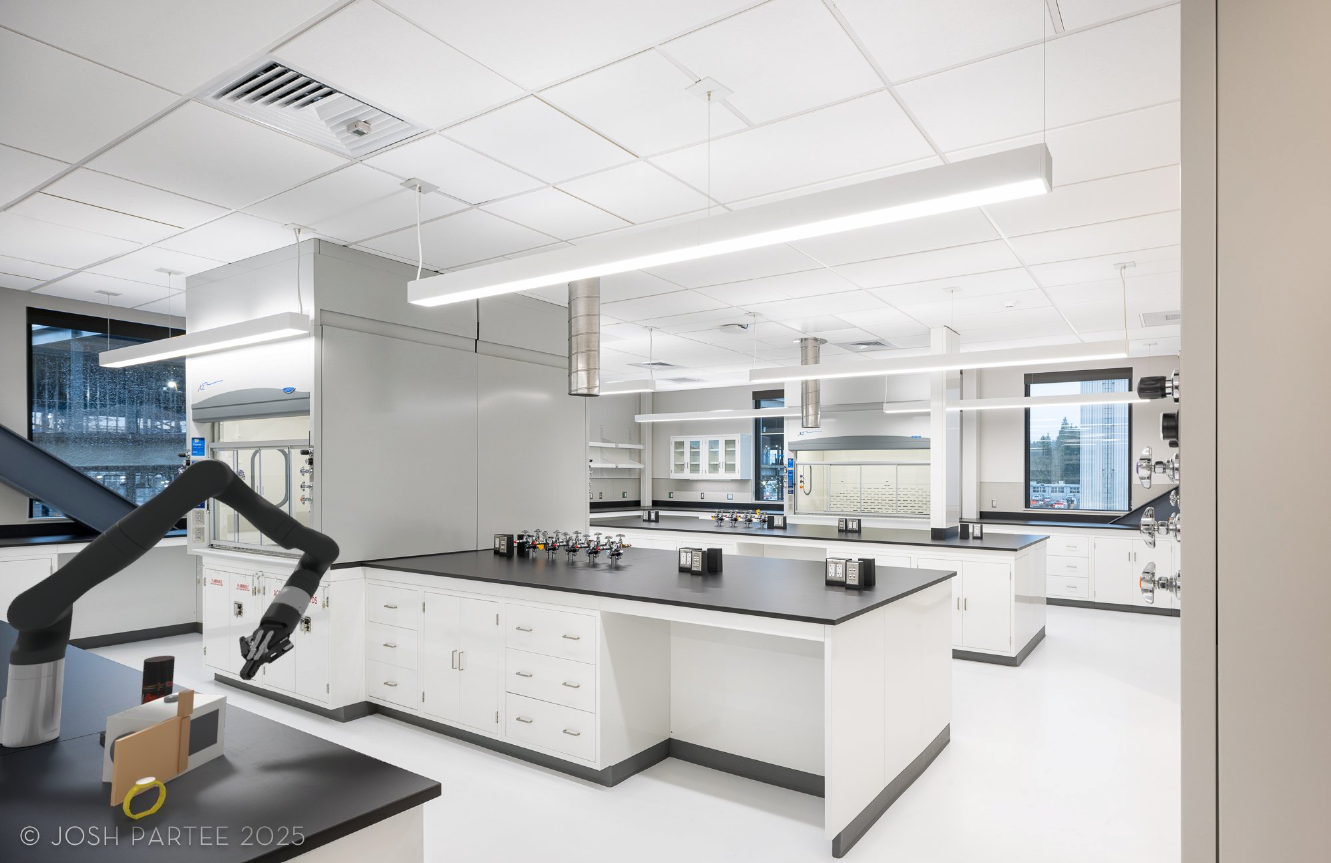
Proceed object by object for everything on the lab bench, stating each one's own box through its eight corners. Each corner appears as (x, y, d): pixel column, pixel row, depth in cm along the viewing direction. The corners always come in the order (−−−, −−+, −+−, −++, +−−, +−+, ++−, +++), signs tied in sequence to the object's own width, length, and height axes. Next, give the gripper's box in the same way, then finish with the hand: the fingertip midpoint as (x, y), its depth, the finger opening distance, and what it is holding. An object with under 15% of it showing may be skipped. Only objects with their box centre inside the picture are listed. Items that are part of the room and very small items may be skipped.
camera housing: (94, 785, 132) (99, 715, 133) (172, 749, 149) (176, 688, 150) (150, 790, 130) (155, 719, 131) (223, 754, 147) (227, 691, 148)
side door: (110, 805, 122) (116, 714, 123) (181, 770, 137) (186, 689, 138) (118, 806, 122) (124, 714, 123) (189, 771, 136) (194, 689, 137)
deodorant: (133, 725, 163) (137, 660, 164) (160, 718, 168) (164, 654, 169) (150, 729, 161) (154, 663, 162) (176, 721, 166) (180, 657, 167)
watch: (129, 825, 118) (128, 790, 118) (120, 821, 119) (120, 786, 119) (168, 808, 123) (167, 774, 123) (160, 805, 124) (159, 771, 124)
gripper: (253, 599, 163) (208, 667, 150) (305, 602, 161) (264, 670, 148) (268, 618, 168) (225, 685, 155) (318, 621, 166) (279, 689, 153)
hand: (244, 678), depth 152 cm, fingers closed
